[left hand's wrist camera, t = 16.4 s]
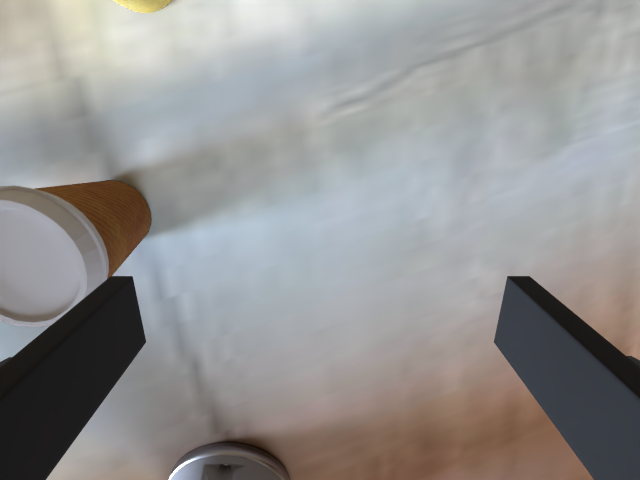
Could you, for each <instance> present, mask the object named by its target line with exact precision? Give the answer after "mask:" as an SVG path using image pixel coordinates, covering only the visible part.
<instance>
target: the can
mask: <svg viewBox="0 0 640 480" xmlns="http://www.w3.org/2000/svg"><path fill="white" fill-rule="evenodd" d="M113 1H115V2H116V3H118V4H120V5H122V6H124V7H126V8H128V9H130V10H132V11H136V12H140V13H151V12H155V11H158V10H160V9H162V8H164V7H165V6H166V5H168V4H169V3H170V2H171V0H113Z"/></svg>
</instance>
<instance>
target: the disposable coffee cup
mask: <svg viewBox="0 0 640 480" xmlns="http://www.w3.org/2000/svg"><path fill="white" fill-rule="evenodd" d="M150 225H151V212H150V209H149V207H148V204H147V202H146V201H145V199H144V198H143V197H142V195H141V194H140V193H139V192H138V191H137V190H135V189H134V188H132V187H131V186H129V185H127V184H125V183H122V182H118V181H111V180H107V181H100V182H91V183H82V184H73V185H64V186H55V187H46V188H36V189H32V188H25V187H19V186H3V187H0V320H1V321H3V322H6V323H10V324H13V325H18V326H24V327H44V326H48V325H52V324H53V323H55V322H56V321H57V320H58V319H60V318H61V317H62V316H63V315H64V314H66V313H67V312H68V311H69V310H70V309H72V308H73V307H74V306H75V305H76V304H78V303H79V302H80V301H81V300H83V299H84V298H85V297H86V296H87V295H89V294H90V293H91V292H92V291H93V290H95V289H96V288H97V287H98V286H99V285H101V284H102V283H103V282H104V281H106V280H107V279H108V278H109V277H110V276H112V275H113V274H114V273H115V272H116V270H117V269H118V268H119V267H120V266H121V264H122V263H123V262H124V261H125V260H126V259H127V257H128V256H129V255H130V254H131V253H132V251H133V250H134V249H135V248H136V247H137V245H138V244H139V243H140V242H141V241H142V239H143V238H144V237H145V236H146V235H147V233H148V232H149V229H150Z"/></svg>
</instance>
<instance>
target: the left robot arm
mask: <svg viewBox="0 0 640 480" xmlns="http://www.w3.org/2000/svg"><path fill="white" fill-rule="evenodd" d="M145 343H146V339H145V335H144V330H143V325H142V320H141V315H140V310H139V306H138V301H137V296H136V291H135V286H134V281H133V276H110V277H109V278H108V279H107V280H106V281H104V282H103V283H102V284H101V285H99V286H98V287H97V288H96V289H95V290H93V291H92V292H91V293H90V294H89V295H87V296H86V297H85V298H84V299H83V300H81V301H80V302H79V303H78V304H76V305H75V306H74V307H73V308H72V309H70V310H69V311H68V312H67V313H66V314H64V315H63V316H62V317H61V318H60V319H58V320H57V321H56V322H55V323H53V324H52V325H51V326H50V327H49V328H47V329H46V330H45V331H44V332H43V333H41V334H40V335H39V336H38V337H37V338H35V339H34V340H33V341H32V342H30V343H29V344H28V345H27V346H26V347H24V348H23V349H22V350H21V351H20V352H18V353H17V354H16V355H15V356H14V357H9V358H7V359H5V360H3V361H2V362H0V480H46V479H47V477H48V476H49V474H50V473H51V472H52V470H53V469H54V468H55V466H56V465H57V463H58V462H59V461H60V459H61V458H62V457H63V455H64V454H65V452H66V451H67V450H68V448H69V447H70V446H71V444H72V443H73V442H74V440H75V439H76V437H77V436H78V435H79V433H80V432H81V431H82V429H83V428H84V426H85V425H86V424H87V422H88V421H89V420H90V418H91V417H92V415H93V414H94V413H95V411H96V410H97V409H98V407H99V406H100V404H101V403H102V402H103V400H104V399H105V398H106V396H107V395H108V393H109V392H110V391H111V389H112V388H113V387H114V385H115V384H116V383H117V381H118V380H119V378H120V377H121V376H122V374H123V373H124V372H125V370H126V369H127V367H128V366H129V365H130V363H131V362H132V361H133V359H134V358H135V356H136V355H137V354H138V352H139V351H140V350H141V348H142V347H143V345H144V344H145ZM494 343H495V344H496V345H497V347H498V348H499V350H500V351H501V352H502V354H503V355H504V356H505V358H506V359H507V361H508V362H509V363H510V365H511V366H512V367H513V369H514V370H515V372H516V373H517V374H518V376H519V377H520V378H521V380H522V381H523V383H524V384H525V385H526V387H527V388H528V389H529V391H530V392H531V394H532V395H533V396H534V398H535V399H536V400H537V402H538V403H539V404H540V406H541V407H542V409H543V410H544V411H545V413H546V414H547V415H548V417H549V418H550V420H551V421H552V422H553V424H554V425H555V426H556V428H557V429H558V431H559V432H560V433H561V435H562V436H563V437H564V439H565V440H566V442H567V443H568V444H569V446H570V447H571V448H572V450H573V451H574V452H575V454H576V455H577V457H578V458H579V459H580V461H581V462H582V463H583V465H584V466H585V468H586V469H587V470H588V472H589V473H590V474H591V476H592V477H593V479H594V480H640V361H639V360H638V359H636V358H634V357H632V356H625V355H624V354H623V353H622V352H620V351H619V350H618V349H617V348H616V347H614V346H613V345H612V344H611V343H610V342H608V341H607V340H606V339H605V338H603V337H602V336H601V335H600V334H599V333H597V332H596V331H595V330H594V329H593V328H591V327H590V326H589V325H588V324H587V323H585V322H584V321H583V320H582V319H580V318H579V317H578V316H577V315H576V314H574V313H573V312H572V311H571V310H570V309H568V308H567V307H566V306H565V305H564V304H562V303H561V302H560V301H559V300H557V299H556V298H555V297H554V296H553V295H551V294H550V293H549V292H548V291H547V290H545V289H544V288H543V287H542V286H541V285H539V284H538V283H537V282H536V281H534V280H533V279H532V278H531V277H530V276H507V281H506V286H505V291H504V296H503V301H502V306H501V310H500V315H499V320H498V325H497V330H496V335H495V339H494ZM169 480H290V478H289V475H288V473H287V471H286V470H285V468H284V467H283V466H282V464H281V463H280V462H279V461H278V460H276V459H275V458H274V457H273V456H271V455H270V454H268V453H266V452H265V451H263V450H260V449H258V448H255V447H253V446H249V445H245V444H240V443H230V442H223V443H213V444H208V445H204V446H201V447H198V448H196V449H194V450H192V451H190V452H188V453H187V454H185V455H184V456H183V457H182V458H181V459H180V460H179V461H178V462H177V463H176V465H175V466H174V468H173V470H172V473H171V475H170V478H169Z"/></svg>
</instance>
